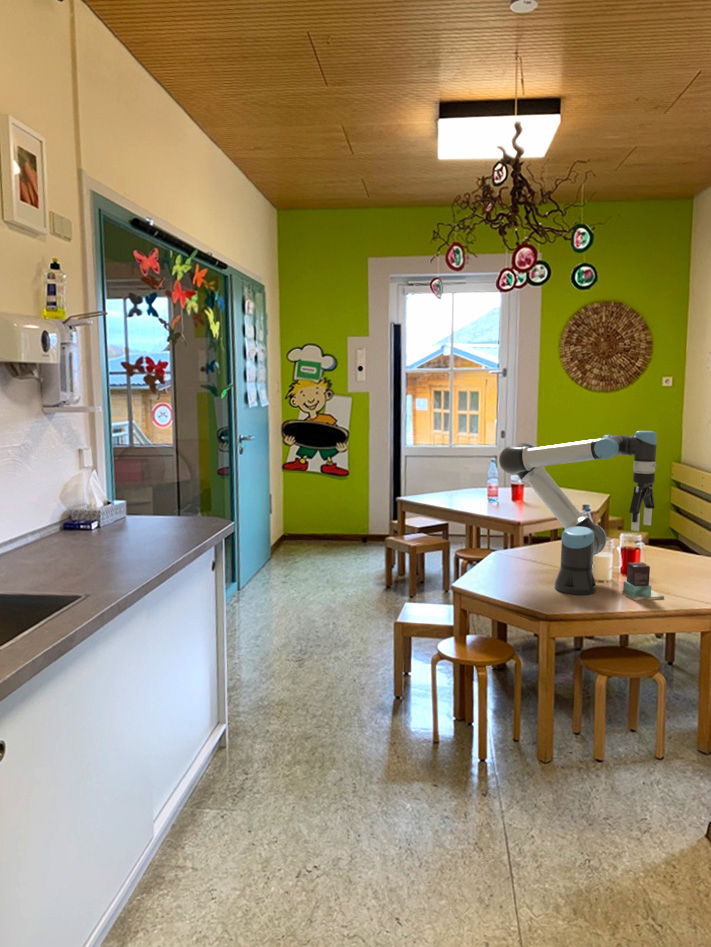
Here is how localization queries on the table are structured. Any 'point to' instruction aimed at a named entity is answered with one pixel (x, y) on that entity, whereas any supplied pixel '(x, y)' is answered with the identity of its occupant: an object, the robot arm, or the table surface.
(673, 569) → the table surface
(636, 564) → the box
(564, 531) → the robot arm
